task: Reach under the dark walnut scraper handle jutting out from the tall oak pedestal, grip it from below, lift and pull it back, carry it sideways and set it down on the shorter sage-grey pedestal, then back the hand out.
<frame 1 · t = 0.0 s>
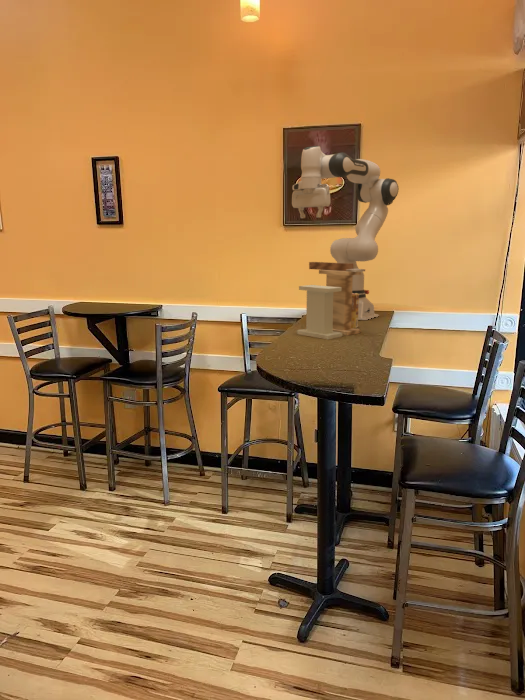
hand: (310, 217, 235), 48 cm above the table, tool pointing down, fingers open, 8 cm apart
short pedestal: (319, 335, 220), on the table
tall pedestal: (338, 331, 228), on the table
scraper: (330, 269, 226), point 26 cm above the table, touching tall pedestal
candy box: (347, 328, 238), on the table
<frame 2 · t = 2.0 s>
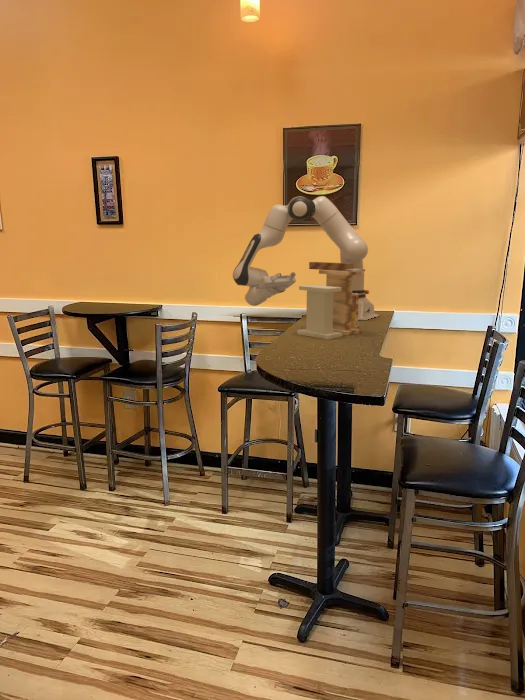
hand: (287, 274, 246), 23 cm above the table, tool pointing upward, fingers open, 8 cm apart
nothing on the table moved.
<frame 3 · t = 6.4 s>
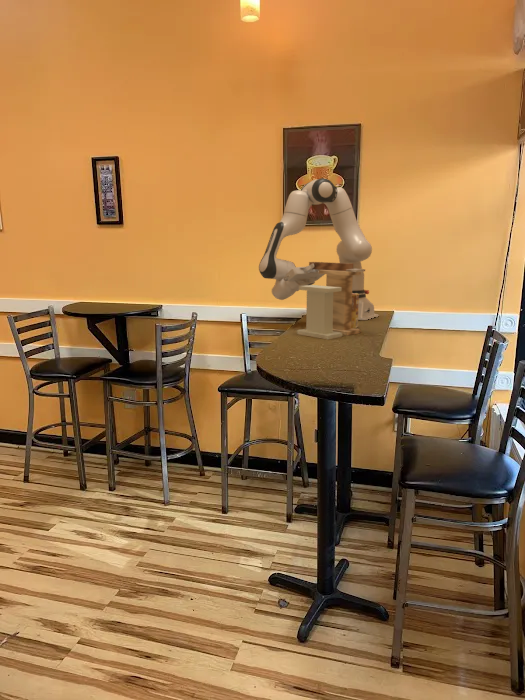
hand: (317, 264, 231), 28 cm above the table, tool pointing upward, fingers closed on scraper, 3 cm apart
scraper: (330, 269, 226), point 26 cm above the table, touching gripper, tall pedestal
everything else where it was.
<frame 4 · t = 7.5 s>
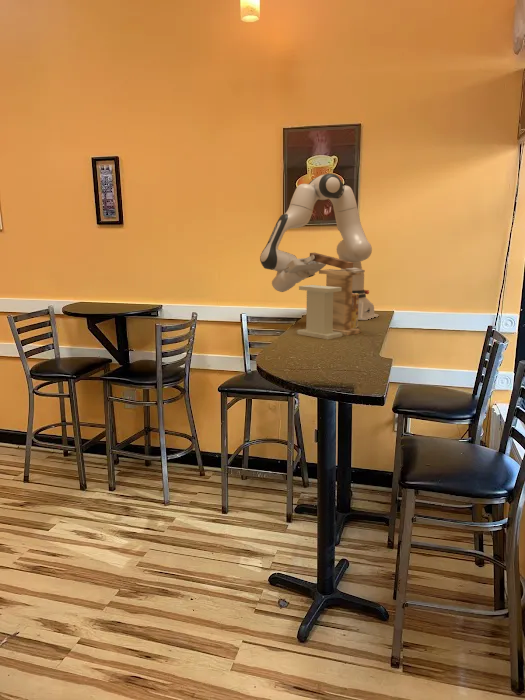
hand: (318, 256, 230), 32 cm above the table, tool pointing upward, fingers closed on scraper, 3 cm apart
scraper: (330, 264, 226), point 28 cm above the table, tilted 10°, touching gripper
everything else where it was.
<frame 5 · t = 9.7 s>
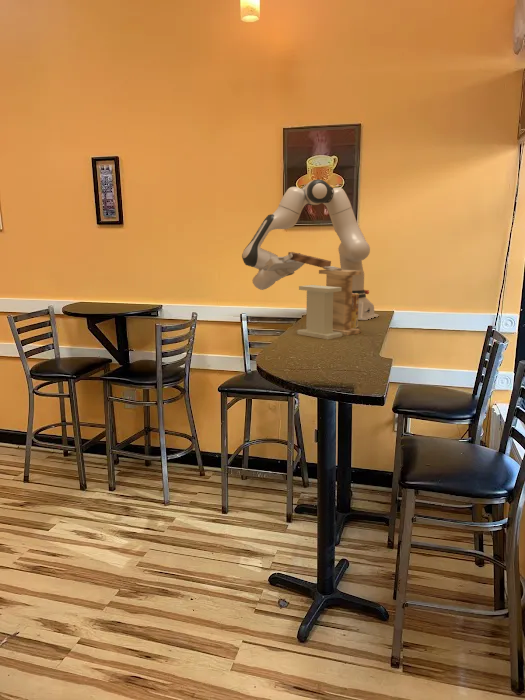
hand: (296, 254, 235), 32 cm above the table, tool pointing upward, fingers closed on scraper, 3 cm apart
scraper: (308, 263, 231), point 28 cm above the table, tilted 9°, touching gripper
everything else where it was.
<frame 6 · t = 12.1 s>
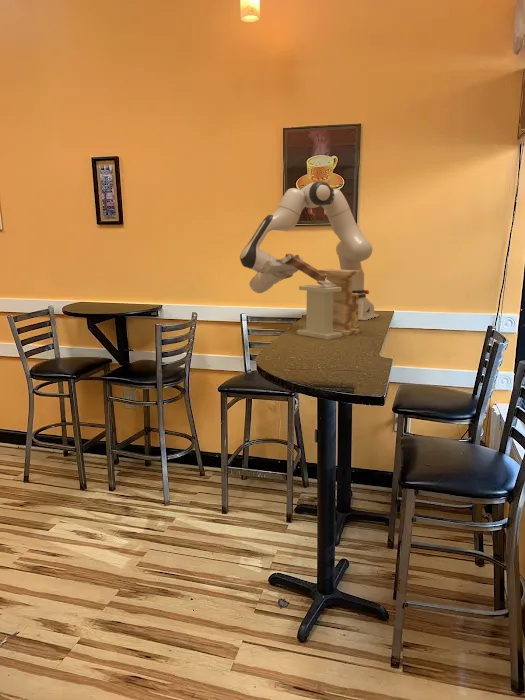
hand: (294, 256, 224), 32 cm above the table, tool pointing upward, fingers closed on scraper, 3 cm apart
scraper: (303, 271, 221), point 26 cm above the table, tilted 22°, touching gripper
everything else where it was.
when the fingers open (23 cm above the table, at t = 15.2 s): scraper stays where it is, resting on short pedestal.
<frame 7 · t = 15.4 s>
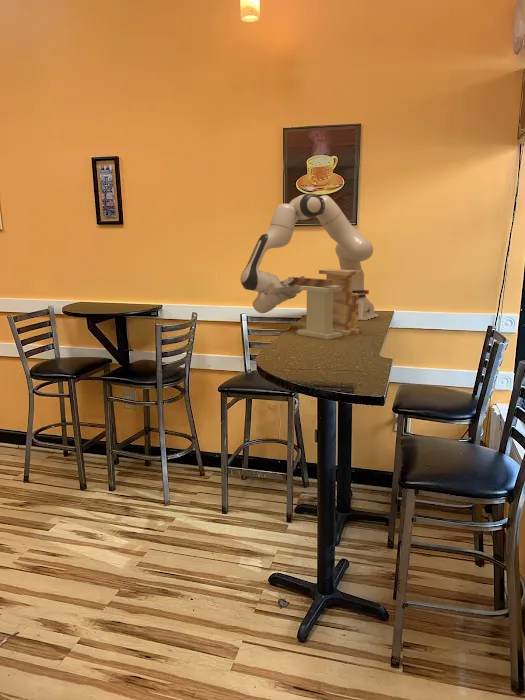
hand: (298, 278, 224), 23 cm above the table, tool pointing upward, fingers open, 5 cm apart
scraper: (309, 285, 220), point 20 cm above the table, touching short pedestal
everything else where it was.
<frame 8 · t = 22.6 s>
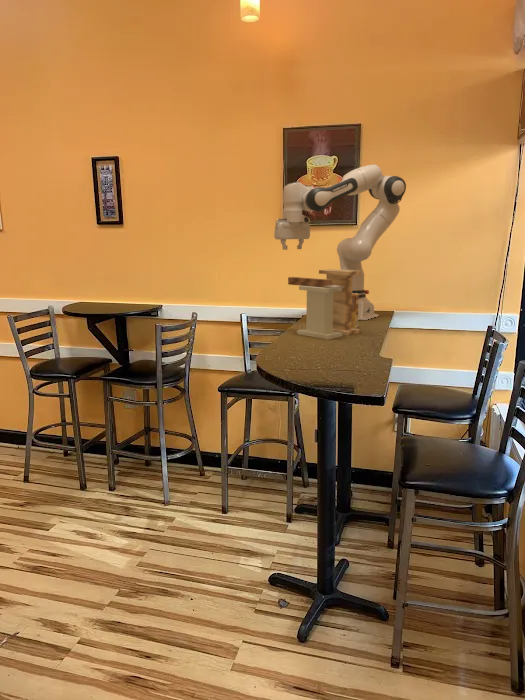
hand: (292, 249, 247), 34 cm above the table, tool pointing down, fingers open, 8 cm apart
nothing on the table moved.
at the end: scraper inside the target area on the short pedestal (0.8 cm from its centre), point 20.0 cm above the short pedestal's base; scraper touching short pedestal; the gripper is holding nothing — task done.
